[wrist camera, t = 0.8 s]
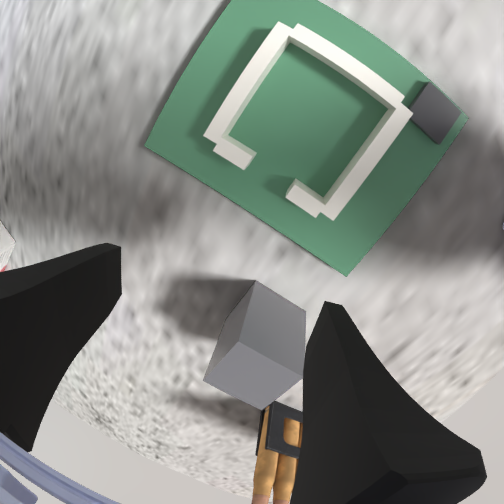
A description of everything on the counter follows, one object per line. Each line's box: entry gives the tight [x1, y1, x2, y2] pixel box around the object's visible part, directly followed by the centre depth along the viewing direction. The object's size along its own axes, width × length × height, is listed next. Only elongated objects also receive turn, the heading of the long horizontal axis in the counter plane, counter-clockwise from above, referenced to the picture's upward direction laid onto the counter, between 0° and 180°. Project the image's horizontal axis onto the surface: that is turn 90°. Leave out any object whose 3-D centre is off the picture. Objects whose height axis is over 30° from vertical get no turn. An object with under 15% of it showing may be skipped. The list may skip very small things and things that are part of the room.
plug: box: [203, 281, 306, 410], centre depth 19 cm, size 4×5×6 cm
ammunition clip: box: [252, 401, 303, 504], centre depth 21 cm, size 11×2×12 cm, turn 61°
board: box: [144, 0, 469, 277], centre depth 14 cm, size 14×12×2 cm
